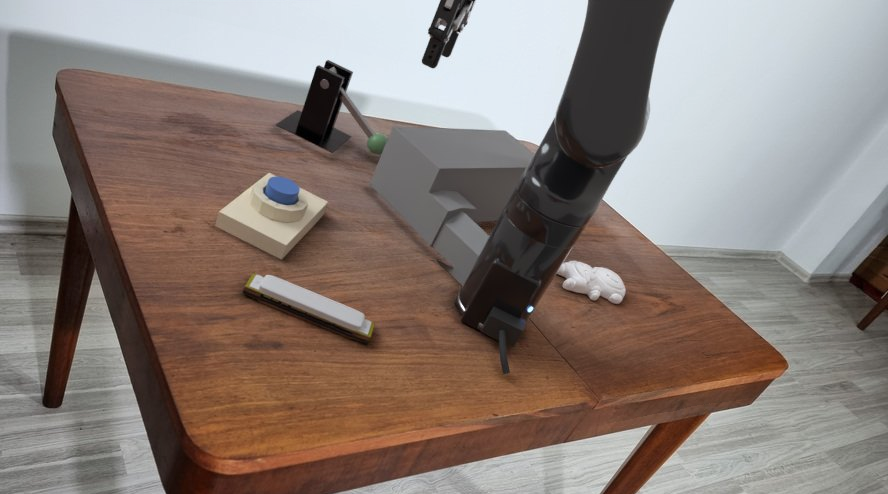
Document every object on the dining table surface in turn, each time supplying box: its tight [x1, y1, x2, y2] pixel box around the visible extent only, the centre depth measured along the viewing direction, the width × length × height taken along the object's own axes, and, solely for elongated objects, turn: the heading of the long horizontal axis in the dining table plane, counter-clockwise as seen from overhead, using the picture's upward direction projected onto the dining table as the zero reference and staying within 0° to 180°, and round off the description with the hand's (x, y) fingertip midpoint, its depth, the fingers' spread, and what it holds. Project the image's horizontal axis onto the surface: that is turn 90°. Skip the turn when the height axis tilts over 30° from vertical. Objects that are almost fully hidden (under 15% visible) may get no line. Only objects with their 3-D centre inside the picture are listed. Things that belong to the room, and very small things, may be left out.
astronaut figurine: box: [556, 260, 627, 305], centre depth 107 cm, size 9×12×3 cm
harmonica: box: [242, 272, 376, 345], centre depth 77 cm, size 15×3×2 cm, turn 80°
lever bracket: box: [275, 59, 354, 154], centre depth 111 cm, size 10×9×12 cm
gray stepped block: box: [369, 125, 535, 287], centre depth 105 cm, size 25×23×11 cm
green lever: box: [329, 67, 388, 156], centre depth 110 cm, size 15×3×3 cm, turn 72°
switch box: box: [214, 172, 329, 260], centre depth 89 cm, size 14×9×4 cm, turn 162°
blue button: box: [265, 175, 300, 205], centre depth 88 cm, size 4×4×2 cm
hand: (435, 60), depth 102 cm, fingers open, 8 cm apart
